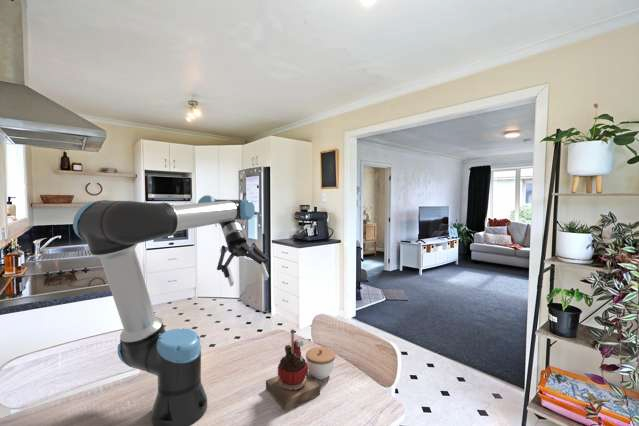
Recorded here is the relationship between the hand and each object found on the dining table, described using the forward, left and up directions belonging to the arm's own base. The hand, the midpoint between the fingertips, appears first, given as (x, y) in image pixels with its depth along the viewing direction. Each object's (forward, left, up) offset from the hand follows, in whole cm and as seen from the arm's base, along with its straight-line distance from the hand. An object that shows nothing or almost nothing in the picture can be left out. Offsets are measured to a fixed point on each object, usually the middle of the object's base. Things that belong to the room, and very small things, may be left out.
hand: (250, 281), depth 111 cm
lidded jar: (+20, -17, -34) cm, 43 cm away
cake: (+6, -20, -31) cm, 37 cm away
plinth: (+6, -20, -34) cm, 39 cm away
